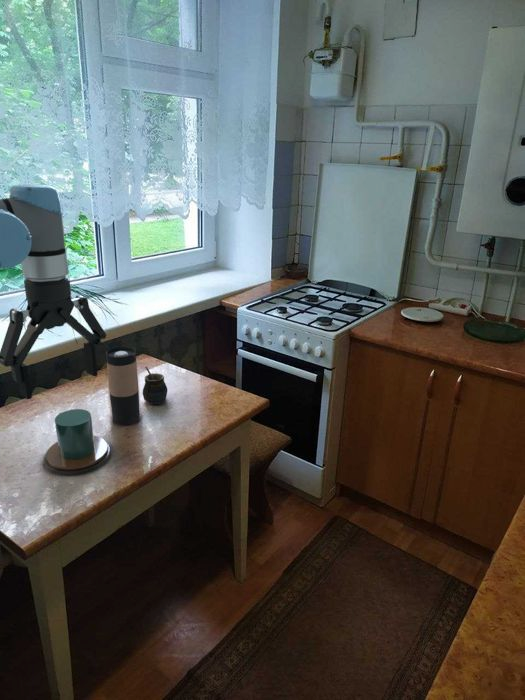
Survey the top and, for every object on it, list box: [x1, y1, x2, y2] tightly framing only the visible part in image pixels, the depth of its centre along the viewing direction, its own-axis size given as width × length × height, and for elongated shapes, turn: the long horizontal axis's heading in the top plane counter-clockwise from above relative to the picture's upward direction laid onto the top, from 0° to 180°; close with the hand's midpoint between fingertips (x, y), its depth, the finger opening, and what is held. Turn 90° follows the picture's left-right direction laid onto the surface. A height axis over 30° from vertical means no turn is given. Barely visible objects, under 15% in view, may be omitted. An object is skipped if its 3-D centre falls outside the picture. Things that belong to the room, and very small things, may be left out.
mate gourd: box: [142, 366, 168, 406], centre depth 145 cm, size 7×8×10 cm
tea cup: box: [45, 408, 109, 470], centre depth 117 cm, size 14×14×10 cm
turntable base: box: [43, 441, 111, 476], centre depth 119 cm, size 15×15×1 cm
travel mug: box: [105, 346, 140, 426], centre depth 133 cm, size 8×8×20 cm
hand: (60, 384), depth 96 cm, fingers open, 13 cm apart
